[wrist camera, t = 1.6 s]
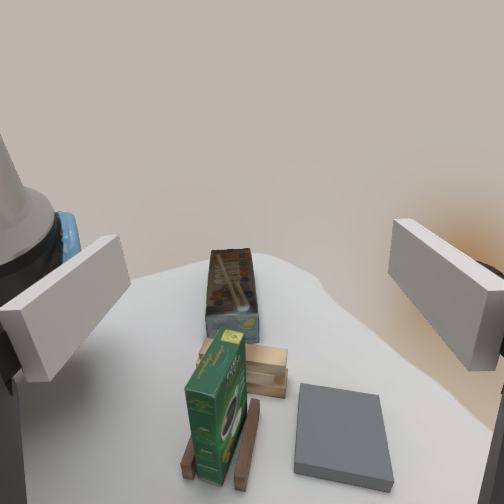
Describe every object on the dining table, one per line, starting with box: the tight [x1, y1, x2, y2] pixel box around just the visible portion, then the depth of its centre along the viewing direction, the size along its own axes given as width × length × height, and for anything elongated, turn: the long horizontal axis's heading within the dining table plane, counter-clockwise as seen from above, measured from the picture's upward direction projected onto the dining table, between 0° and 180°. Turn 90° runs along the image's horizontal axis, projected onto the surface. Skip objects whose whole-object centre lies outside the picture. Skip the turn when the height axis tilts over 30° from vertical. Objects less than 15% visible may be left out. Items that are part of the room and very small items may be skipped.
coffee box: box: [184, 327, 247, 486], centre depth 30 cm, size 8×3×13 cm, turn 162°
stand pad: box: [294, 383, 394, 492], centre depth 34 cm, size 9×9×2 cm
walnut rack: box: [181, 398, 260, 491], centre depth 33 cm, size 6×8×2 cm
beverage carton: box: [205, 248, 259, 343], centre depth 53 cm, size 8×19×7 cm, turn 4°
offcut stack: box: [196, 338, 288, 399], centre depth 39 cm, size 11×3×5 cm, turn 79°
